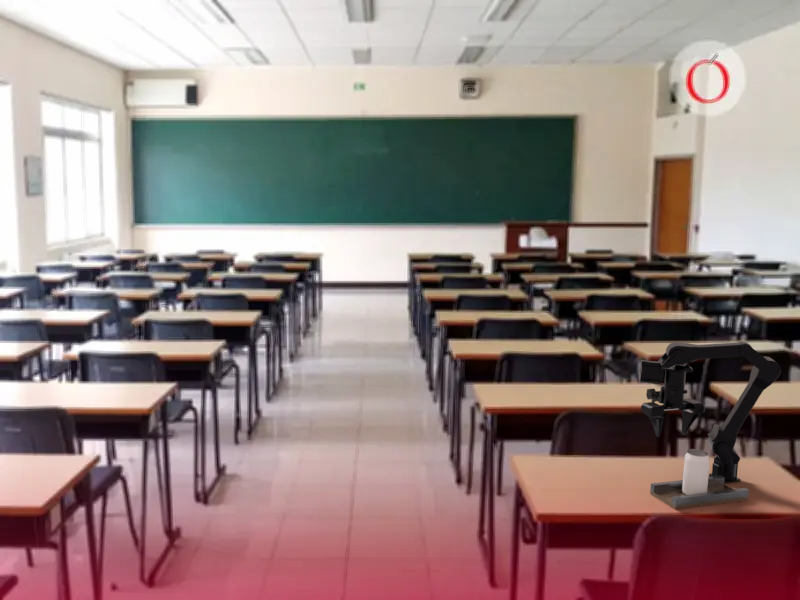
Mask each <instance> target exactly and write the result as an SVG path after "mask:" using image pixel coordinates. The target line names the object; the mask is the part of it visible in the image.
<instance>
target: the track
mask: <svg viewBox="0 0 800 600" xmlns="http://www.w3.org/2000/svg"><path fill="white" fill-rule="evenodd" d="M724 479H725V477H723V476H713V477H711V476H708V486H707V493H699V494H691V495H685V494H684V493H683V491H682V485H683V479H677V480H671V481H662V482H661V481H660V482H653V483H650V490H649V491H650V495H651V496H654V497H655V498H657V499H658V500H660V501H661V502H663V503H664V504H665V505H668V506H669V507H671V508H672V509H674V510H682V509H691V508H698V507H699V508H700V507H704V506H705V507H707V506H713V505H721V504H729V503H737V502H743V501H749V494H750V493H749V492H750V489H748V488H746V487H743V488H742V487H741V488H732V487H730V486H729V485H727V484H725V483H724Z"/></svg>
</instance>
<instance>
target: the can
mask: <svg viewBox="0 0 800 600" xmlns="http://www.w3.org/2000/svg"><path fill="white" fill-rule="evenodd" d="M709 457H710V456H709V453H708V452H707V451H705V450H702V449H698V448H697V449H696V448H690V449H687V450H686V454H685V455H684V458H683V459H684V460H683V462H684V463H683V472H682V473H683V474H682V475H683V476H682V480H683V485H682V491H683V493H684V494H685V495H691V494H699V493H707V486H708V477H709V474H710V473H709V472H710V458H709Z"/></svg>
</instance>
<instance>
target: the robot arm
mask: <svg viewBox="0 0 800 600" xmlns="http://www.w3.org/2000/svg"><path fill="white" fill-rule="evenodd" d="M737 357H742V358H744V359H745V360H747V361H748V362H749V363H750V364H752V368H751V371H750V375H749V379H748V383H747V385H745V388H744V390H743V391H742V392H741V395H740V396H739V398H738V399H737V401H736V402H735V404H734V406H733V408H732V409H731V411H730V412H729V414H728V415H727V417H726V419H725V420H724V421H723V423H722V424H720V425H718V424H717V423H714V424H713V427H712V429H711V430H710V432H708V433H707V436H708V438H707V439H708V440H707V443H708V445H709V447H710V449H711V451H712V452H713V453H714V454H715V455H716V456H715V457H713V463H712V468H711V473H709V474H708V477H713V476H723V477H725V479H724V484H725V483H726V484H727V483H737V482H741V481H742V479H741V478H739V477H738V469H739V468H738V467H739V462H740V460H741V457H740V455H739V454H738V453H737V450H736V448H735V444H736V442H737V437H738V433H739V430H740V429H741V428H742V426H743V424H744V422H745V420H746V419H747V417H748V416H749V415H750V412H751V411H752V409H753V408H754V407H755V404H756V403H757V402H758V400H759V398H760V396H761V395H762V393H763V392H764V390H766V389H767V388H769V387H770V386H771V385H773V383H775V382H776V380H777V379H778V378H779V377H780V375H781V373H782V368H781V366H780V364H779V363H778V362H777V361H775V360H774V359H773V358H771V357H770V356H763V355H762V354H761V353H760V352H758V351H757V350H755V348H754V347H752V345H750V344H749V343H748V342H746V341H742V340H741V341H737V342H724V343H722V342H721V343H707V344H695V343H694V344H693V343H689V342H679V341H673V342H671V343H669V344H668V345H667V347H666V348H665V353H663V354H662V356H661V357H660V358H659V359H658V360H657V361H656V360H655V361H653V360H646V359H641V360H640V365H639V369H638V382H639V384H654V385H655V384H656V385H660V383H662V382H663V381H664V384H663V385H661V387H660V390H656V389H655V388H647V389H646V395H645V396H646V399H647V400H651V402H643V403H642V404H641V406H640V412H642V413H643V414H644V415H646V416H648V418H649V420H650V422H651V423H652V426H653V431H654V433H655V436H656V437H657V438H659V437H660V436H661V433H662V429H663V425H664V424H663V423H664V419H665V417H664V416H663V415H664V413H665V412H672V411H680V412H681V414H682V415H681V416H682V417H681V418H682V421H681V422H682V423H681V434H682V435H683V436H684V435H687V433H688V431H689V429H690V427H691V426H692V425H693V423H694V422H695V421H696V420H697V418H698V417H699V416H700V417H701V414H703V413H705V405H704V403H703V402H701V401H699V400H697V399H693V398H691V399H689V398H688V399H684V398H685V394H686V395H687V394H688V390H687V389H686V388H685V387H686V375H687V373H693V372H694V370H693V368H692V367H691V366H690V363H693V362H695V361H699V360H707V359H718V358H719V359H720V358H721V359H724V358H737ZM664 372H665V373H664ZM656 402H658V403H659V404H658V403H656Z"/></svg>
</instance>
